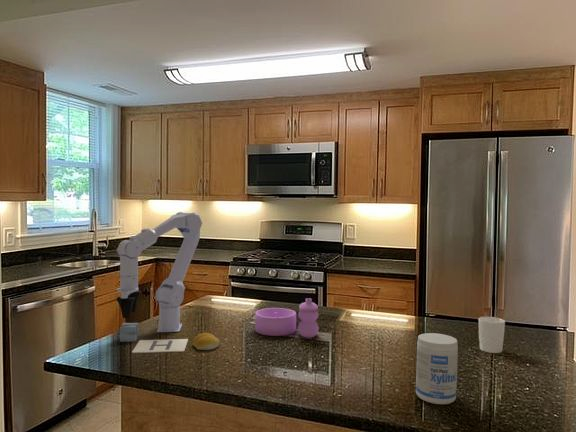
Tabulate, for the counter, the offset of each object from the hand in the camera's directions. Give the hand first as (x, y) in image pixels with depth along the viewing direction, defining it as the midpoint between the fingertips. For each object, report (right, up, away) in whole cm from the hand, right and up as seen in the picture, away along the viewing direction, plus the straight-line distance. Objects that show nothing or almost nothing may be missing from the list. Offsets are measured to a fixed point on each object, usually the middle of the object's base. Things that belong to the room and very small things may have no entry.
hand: (129, 315), depth 153 cm
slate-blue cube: (0, -8, 0) cm, 8 cm away
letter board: (+13, -9, -7) cm, 17 cm away
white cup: (+121, -10, -7) cm, 121 cm away
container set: (+54, -9, +11) cm, 56 cm away
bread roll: (+27, -9, -6) cm, 29 cm away
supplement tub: (+91, -11, -42) cm, 101 cm away
